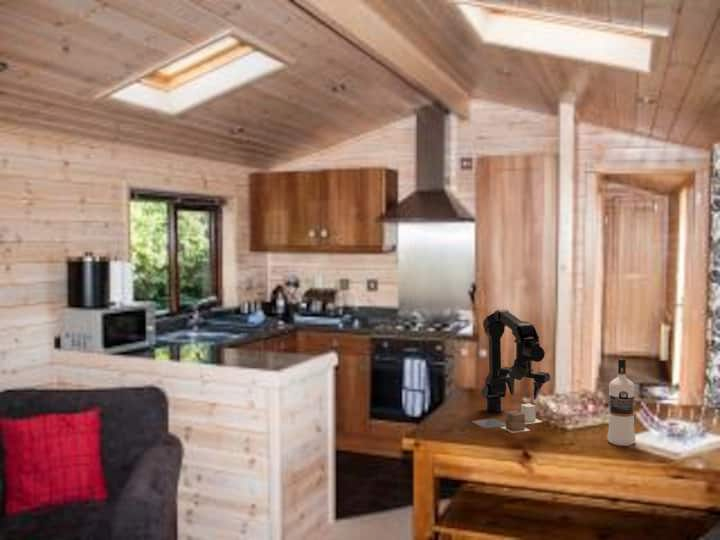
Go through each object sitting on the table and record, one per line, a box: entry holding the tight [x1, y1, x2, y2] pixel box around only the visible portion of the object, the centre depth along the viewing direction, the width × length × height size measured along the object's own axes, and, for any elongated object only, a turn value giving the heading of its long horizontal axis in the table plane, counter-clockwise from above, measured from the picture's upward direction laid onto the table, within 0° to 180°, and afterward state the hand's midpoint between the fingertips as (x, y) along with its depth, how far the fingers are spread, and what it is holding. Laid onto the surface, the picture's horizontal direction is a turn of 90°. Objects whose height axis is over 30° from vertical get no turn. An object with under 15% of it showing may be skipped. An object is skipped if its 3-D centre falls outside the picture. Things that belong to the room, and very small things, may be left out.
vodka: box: [606, 357, 636, 447], centre depth 234 cm, size 9×9×30 cm
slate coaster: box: [471, 417, 506, 429], centre depth 259 cm, size 10×10×1 cm
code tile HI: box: [525, 418, 543, 425], centre depth 262 cm, size 8×8×1 cm
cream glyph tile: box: [500, 426, 531, 434], centre depth 252 cm, size 8×8×1 cm
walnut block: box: [505, 410, 526, 431], centre depth 252 cm, size 5×5×6 cm
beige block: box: [520, 403, 537, 422], centre depth 262 cm, size 4×4×6 cm
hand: (523, 397), depth 250 cm, fingers open, 9 cm apart
